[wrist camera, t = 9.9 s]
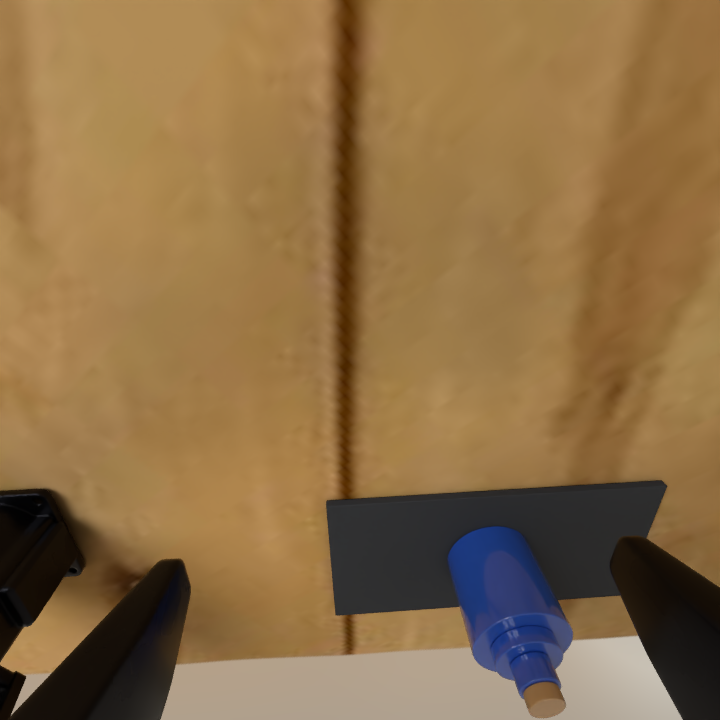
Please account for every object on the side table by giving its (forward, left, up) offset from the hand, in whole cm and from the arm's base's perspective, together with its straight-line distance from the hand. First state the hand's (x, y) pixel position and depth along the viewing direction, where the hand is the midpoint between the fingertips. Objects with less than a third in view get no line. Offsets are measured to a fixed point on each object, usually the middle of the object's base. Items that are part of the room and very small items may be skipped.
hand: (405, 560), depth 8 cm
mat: (+7, -15, -12) cm, 21 cm away
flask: (+7, -15, -12) cm, 20 cm away
